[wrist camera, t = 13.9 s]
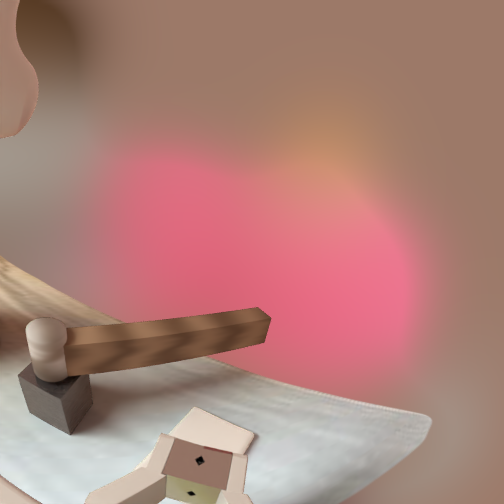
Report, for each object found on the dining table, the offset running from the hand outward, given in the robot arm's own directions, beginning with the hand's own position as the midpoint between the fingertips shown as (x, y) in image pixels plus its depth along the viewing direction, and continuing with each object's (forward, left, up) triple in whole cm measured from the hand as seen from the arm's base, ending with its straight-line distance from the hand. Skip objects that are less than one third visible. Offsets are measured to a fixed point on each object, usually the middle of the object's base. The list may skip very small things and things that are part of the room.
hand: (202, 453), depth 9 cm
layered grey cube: (-18, +13, -20) cm, 30 cm away
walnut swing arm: (-8, +21, -14) cm, 27 cm away
